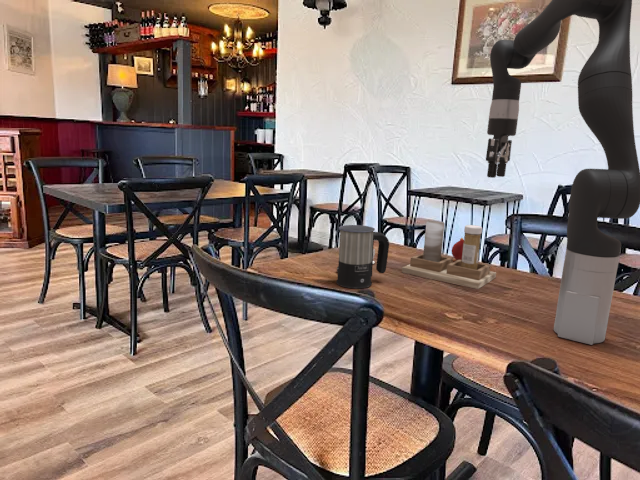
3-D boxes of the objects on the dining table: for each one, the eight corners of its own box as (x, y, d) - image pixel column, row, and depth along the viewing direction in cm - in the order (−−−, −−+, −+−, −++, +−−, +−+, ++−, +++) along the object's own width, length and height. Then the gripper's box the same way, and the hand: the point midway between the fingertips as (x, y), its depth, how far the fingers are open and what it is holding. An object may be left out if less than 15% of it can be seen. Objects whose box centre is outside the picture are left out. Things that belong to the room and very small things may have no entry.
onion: (471, 262, 155) (474, 238, 153) (466, 266, 150) (469, 240, 148) (453, 259, 158) (456, 235, 156) (447, 262, 153) (450, 237, 151)
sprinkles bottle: (480, 274, 135) (486, 226, 132) (469, 276, 132) (475, 228, 129) (467, 270, 138) (472, 224, 135) (456, 272, 136) (461, 225, 133)
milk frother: (352, 291, 119) (356, 232, 116) (312, 276, 131) (314, 222, 128) (391, 282, 129) (396, 227, 126) (350, 269, 140) (353, 218, 137)
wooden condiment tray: (478, 289, 126) (484, 234, 124) (401, 272, 139) (406, 222, 136) (495, 277, 138) (501, 227, 135) (423, 263, 151) (428, 217, 148)
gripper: (510, 116, 126) (502, 179, 129) (524, 119, 137) (516, 177, 140) (481, 115, 130) (474, 176, 133) (497, 119, 141) (490, 175, 145)
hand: (496, 176), depth 137 cm, fingers open, 8 cm apart
